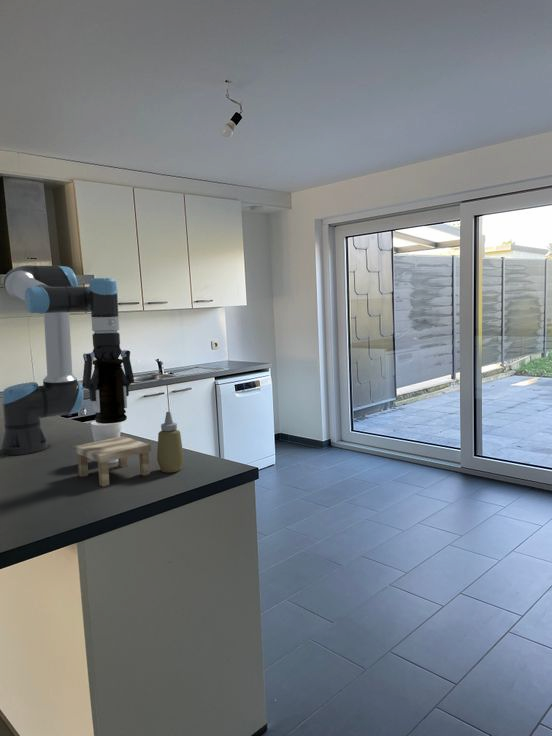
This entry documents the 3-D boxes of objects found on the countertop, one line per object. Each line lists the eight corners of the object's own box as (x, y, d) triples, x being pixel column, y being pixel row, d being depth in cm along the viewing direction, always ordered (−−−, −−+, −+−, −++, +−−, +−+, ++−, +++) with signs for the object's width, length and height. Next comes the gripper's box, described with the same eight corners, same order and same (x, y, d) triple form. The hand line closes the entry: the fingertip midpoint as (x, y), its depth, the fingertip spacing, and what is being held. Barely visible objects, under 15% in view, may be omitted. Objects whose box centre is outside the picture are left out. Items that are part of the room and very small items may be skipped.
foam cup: (114, 465, 173) (112, 425, 172) (87, 464, 175) (85, 424, 174) (128, 457, 183) (126, 419, 181) (102, 456, 184) (100, 418, 183)
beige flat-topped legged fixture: (76, 475, 164) (74, 446, 163) (124, 463, 175) (123, 436, 174) (101, 487, 153) (100, 455, 152) (152, 474, 164) (150, 444, 163)
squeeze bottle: (189, 467, 170) (186, 410, 168) (176, 475, 162) (173, 415, 160) (166, 465, 173) (163, 409, 170) (152, 473, 165) (149, 414, 163)
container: (99, 418, 166) (95, 358, 164) (129, 416, 167) (126, 357, 165) (91, 424, 157) (87, 361, 155) (123, 423, 158) (120, 360, 156)
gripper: (77, 334, 149) (82, 416, 152) (144, 330, 164) (148, 406, 166) (65, 333, 155) (70, 413, 157) (131, 330, 169) (135, 403, 172)
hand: (110, 409), depth 162 cm, fingers closed on container, 8 cm apart
